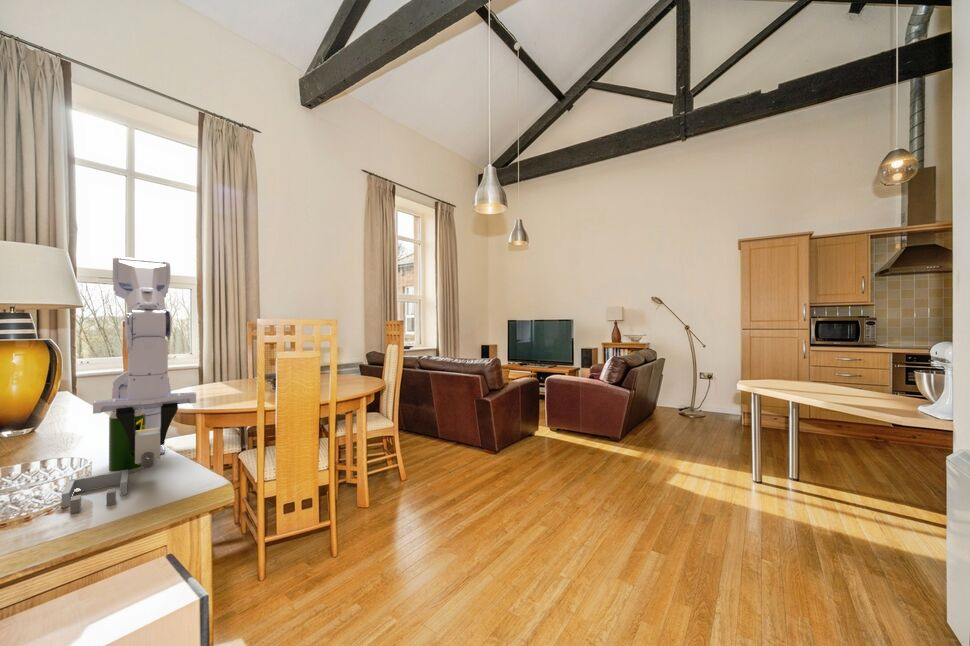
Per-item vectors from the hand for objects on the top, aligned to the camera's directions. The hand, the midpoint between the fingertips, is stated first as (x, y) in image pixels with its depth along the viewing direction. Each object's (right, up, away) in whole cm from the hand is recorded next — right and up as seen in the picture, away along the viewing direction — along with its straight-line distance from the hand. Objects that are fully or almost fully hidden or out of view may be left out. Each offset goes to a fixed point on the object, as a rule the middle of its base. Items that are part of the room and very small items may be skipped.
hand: (147, 445), depth 73 cm
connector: (+2, -2, -2) cm, 3 cm away
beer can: (-7, -6, +4) cm, 11 cm away
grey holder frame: (-2, -6, -8) cm, 10 cm away
